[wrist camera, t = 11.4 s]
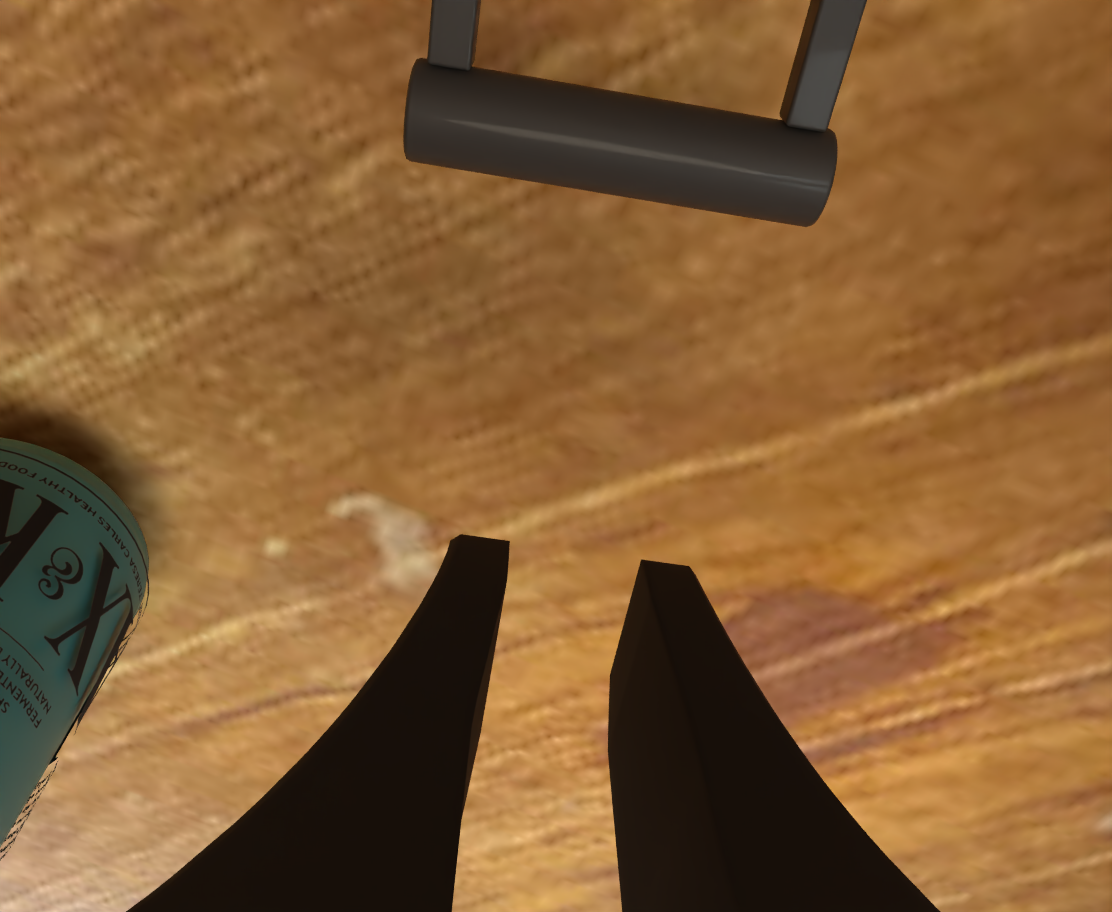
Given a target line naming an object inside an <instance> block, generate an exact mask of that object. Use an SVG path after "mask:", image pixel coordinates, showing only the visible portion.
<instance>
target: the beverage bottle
mask: <svg viewBox="0 0 1112 912" xmlns="http://www.w3.org/2000/svg"><path fill="white" fill-rule="evenodd" d="M148 570H149V557H148V551H147V545H146V542H145V539H144V536H143V533H142V531H141V529H140V527H139V525H138V523H137V521H136V519H135V518H134V516H133V514H132V513H131V511H130V510H129V508H128V507H127V506H126V505H125V503H124V502H123V501H122V500H121V498H120V497H119V496H118V495H117V494H116V493H115V492H114V491H113V490H112V489H111V488H110V487H109V486H108V485H107V484H105V483H104V482H103V481H102V480H101V479H99V478H98V477H97V476H96V475H94V474H93V473H92V472H90V471H89V470H87V469H86V468H84V467H83V466H81V465H79V464H78V463H76V462H74V461H72V460H71V459H69V458H67V457H65V456H63V455H60V454H58V453H56V452H54V451H51V450H49V449H46V448H43V447H40V446H37V445H34V444H30V443H26V442H22V441H18V440H13V439H6V438H0V847H1V845H2V844H3V842H4V841H6V840H5V839H6V837H7V835H8V833H9V832H10V830H11V828H13V827H14V825H15V824H16V823H15V821H16V820H17V818H18V816H19V815H20V813H21V812H22V809H23V808H24V806H25V804H26V802H27V801H29V800H28V799H30V798H32V797H33V796H34V794H35V793H34V794H33V795H32V797H31V794H32V792H33V790H34V789H36V788H37V787H38V786H40V785H37V783H38V782H39V780H40V778H41V777H42V775H43V773H44V771H45V770H46V768H47V766H48V765H49V764H51V763H52V762H54V761H55V760H56V759H57V758H58V757H57V758H56V755H57V753H58V752H59V750H60V748H61V746H62V745H63V743H64V741H65V740H66V738H67V736H68V734H69V733H70V731H71V729H72V727H73V726H74V724H75V722H76V721H77V719H78V724H77V727H78V725H79V723H80V721H81V719H82V718H83V716H84V714H85V712H86V711H87V709H88V708H89V706H90V704H91V703H92V701H93V699H94V698H95V696H96V695H95V693H96V691H97V689H98V687H99V685H100V683H101V681H102V679H103V677H104V675H105V673H106V671H107V669H108V668H109V667H110V666H111V665H112V664H113V663H114V664H113V666H112V668H113V667H114V665H115V663H116V661H117V660H118V658H119V656H120V655H121V653H122V652H121V653H120V655H119V656H118V658H117V654H118V651H120V650H119V649H118V648H119V646H120V644H121V642H122V641H123V640H125V639H126V638H127V637H128V636H129V635H130V634H131V633H132V632H133V631H132V632H131V633H130V634H129V635H128V636H127V637H126V638H125V639H123V638H124V636H125V634H126V632H127V630H128V627H129V625H130V624H131V623H132V624H133V618H134V616H135V615H136V613H137V611H138V610H139V609H141V607H140V605H141V602H142V600H143V597H144V593H145V587H146V582H148V595H149V579H148ZM147 601H148V597H147ZM142 604H143V603H142ZM141 606H142V605H141ZM146 606H147V602H146ZM145 608H146V607H145ZM141 611H142V610H141ZM144 611H145V610H144ZM139 613H140V610H139ZM143 614H144V613H143ZM140 616H141V614H140ZM142 616H143V615H142ZM138 617H139V614H138ZM138 621H139V620H138ZM131 626H132V625H131ZM136 627H137V624H136ZM134 630H135V629H134ZM132 634H133V633H132ZM129 637H130V636H129ZM128 639H130V638H128ZM127 642H128V641H127ZM127 642H126V644H127ZM126 644H124V645H123V646H122V647H124V646H126ZM122 647H121V648H120V649H122ZM124 648H125V647H124ZM124 648H123V650H124ZM123 650H122V651H123ZM115 655H116V657H115V661H114V662H113V663H112V664H111V662H112V660H113V658H114V656H115ZM116 658H117V659H116ZM110 664H111V665H110ZM112 668H111V670H112ZM111 670H110V671H111ZM110 671H109V673H108V675H109V674H110ZM108 675H107V676H108ZM107 676H106V678H107ZM106 678H105V679H106ZM104 681H105V680H104ZM104 681H103V683H104ZM103 683H102V684H103ZM101 686H102V685H101ZM101 686H100V688H101ZM100 688H99V689H100ZM98 691H99V690H98ZM98 691H97V693H98ZM97 693H96V694H97ZM94 695H95V696H94ZM93 697H94V698H93ZM92 698H93V699H92ZM79 715H80V716H79ZM78 717H79V718H78ZM76 730H77V728H76ZM75 732H76V731H75ZM74 735H75V734H74ZM57 762H58V761H57ZM56 765H57V763H56ZM55 768H56V766H55ZM55 768H54V769H55ZM54 771H55V770H54ZM54 771H53V772H54ZM51 772H52V771H51ZM53 772H52V773H53ZM48 776H49V775H48ZM48 776H47V777H48ZM51 776H52V775H51ZM49 777H50V776H49ZM49 777H48V779H50V778H49ZM45 780H46V778H45V779H44V780H42V781H43V782H44V781H45ZM47 781H48V780H47ZM43 782H39V783H40V784H41V783H43ZM39 783H38V784H39ZM47 783H48V782H46V785H47ZM46 785H43V787H44V786H46ZM36 786H37V787H36ZM35 787H36V788H35ZM38 788H39V787H38ZM39 789H40V788H39ZM41 789H42V788H41ZM34 791H35V790H34ZM38 792H39V790H38ZM40 794H41V793H40ZM36 795H37V793H36ZM36 795H35V796H36ZM39 797H40V795H39ZM39 797H38V798H39ZM38 798H35V800H34V801H33V802H34V803H35V801H36V799H38ZM27 803H28V802H27ZM31 804H33V803H31ZM35 804H36V803H35ZM29 806H30V805H29ZM29 806H28V807H26V808H25V809H26V810H27V809H28V808H29ZM33 807H34V806H33ZM25 809H24V811H25ZM24 811H23V812H24ZM30 811H32V810H30ZM30 811H29V812H28V814H26V815H28V816H29V814H30ZM25 817H26V816H25ZM27 818H28V817H27ZM20 820H21V819H20ZM20 820H19V821H18V822H21V821H22V820H23V818H22V820H21V821H20ZM26 820H27V819H26ZM26 820H25V821H26ZM25 821H24V822H25ZM18 822H17V823H18ZM24 822H23V823H24ZM14 823H15V824H14ZM16 825H17V824H16ZM23 825H24V824H22V825H21V827H20V828H19V829H21V828H22V827H23ZM17 830H18V829H17ZM19 832H20V831H19ZM13 833H14V834H15V833H16V831H15V832H13ZM17 833H18V831H17ZM17 833H16V834H17ZM17 835H18V834H17ZM9 836H11V838H12V836H13V835H11V834H10V835H9ZM7 838H8V839H9V838H10V837H7ZM15 838H16V837H15ZM13 840H14V841H15V839H13ZM13 840H12V842H10V843H13V842H14V841H13ZM10 843H9V845H10ZM5 847H6V848H7V847H8V845H7V846H5ZM10 848H11V847H10ZM1 850H3V851H4V850H5V848H4V849H1ZM1 850H0V851H1ZM1 852H2V851H1ZM1 852H0V853H1ZM3 853H4V852H3ZM5 854H6V853H5ZM5 854H4V855H3V857H4V856H5ZM1 859H2V857H1ZM1 859H0V860H1Z"/></svg>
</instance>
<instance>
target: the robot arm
mask: <svg viewBox="0 0 1112 912" xmlns="http://www.w3.org/2000/svg"><path fill="white" fill-rule="evenodd" d="M509 543H510V541H505V540H498V539H491V538H484V537H476V536H469V535H462V534H461V535H459V536H457V537H455V538H454V539H452V540H451V541H450V544H449V547H448V551H447V553H446V556H445V558H444V560H443V563H442V565H441V567H440V569H439V571H438V573H437V575H436V577H435V579H434V581H433V583H432V585H431V587H430V588H429V590H428V592H427V594H426V595H425V597H424V599H423V601H422V603H421V604H420V606H419V608H418V609H417V611H416V612H415V614H414V615H413V617H412V618H411V620H410V621H409V623H408V624H407V626H406V628H405V629H404V631H403V632H402V634H401V635H400V637H399V638H398V640H397V641H396V643H395V644H394V646H393V647H392V649H391V650H390V652H389V653H388V654H387V656H386V657H385V658H384V660H383V661H382V662H381V664H380V665H379V666H378V668H377V669H376V670H375V672H374V673H373V674H372V675H371V677H370V678H369V679H368V681H367V682H366V683H365V685H364V686H363V687H362V689H361V690H360V691H359V693H358V694H357V695H356V696H355V698H354V699H353V700H352V701H351V703H350V704H349V705H348V706H347V707H346V709H345V710H344V711H343V712H342V713H341V715H340V716H339V717H338V718H337V719H336V720H335V722H334V723H333V724H332V725H331V726H330V727H329V729H328V730H327V731H326V732H325V733H324V734H323V735H322V736H321V737H320V739H319V740H318V741H317V742H316V743H315V744H314V745H313V746H312V747H311V748H310V749H309V751H308V752H307V753H306V754H305V755H304V756H303V757H302V758H301V759H300V760H299V761H298V762H297V763H296V764H295V765H294V766H293V767H292V768H291V769H290V770H289V771H288V772H287V773H286V774H285V775H284V776H283V777H282V778H281V779H280V780H279V781H278V782H277V783H276V784H275V785H274V786H273V787H272V788H271V789H270V790H269V791H268V792H267V793H266V794H265V795H264V796H263V797H262V798H261V799H260V800H259V801H258V802H257V803H256V804H255V805H254V806H253V807H252V808H251V809H249V810H248V811H247V812H246V813H245V814H244V815H243V816H242V817H241V818H240V819H239V820H238V821H236V822H235V823H234V824H233V825H232V826H231V827H230V828H228V829H227V830H226V831H225V832H224V833H222V834H221V835H220V836H219V837H218V838H217V839H215V840H214V841H213V842H212V843H211V844H210V845H208V846H207V847H206V848H205V849H204V850H203V851H201V852H200V853H199V854H198V855H197V856H195V857H194V858H193V859H192V860H191V861H190V862H188V863H187V864H186V865H185V866H184V867H183V868H181V869H180V870H179V871H178V872H177V873H176V874H174V875H173V876H172V877H171V878H170V879H168V880H167V881H166V882H165V883H163V884H162V885H161V886H159V887H158V888H157V889H156V890H154V891H153V892H152V893H151V894H149V895H148V896H147V897H145V898H144V899H143V900H141V901H140V902H139V903H137V904H136V905H134V906H133V907H132V908H130V909H129V910H128V911H126V912H452V903H453V893H454V883H455V874H456V864H457V855H458V845H459V836H460V827H461V819H462V815H463V810H464V806H465V801H466V797H467V792H468V787H469V783H470V778H471V774H472V769H473V765H474V760H475V756H476V751H477V747H478V742H479V737H480V733H481V727H482V721H483V715H484V710H485V704H486V698H487V692H488V687H489V681H490V675H491V669H492V663H493V658H494V652H495V646H496V640H497V635H498V629H499V623H500V617H501V611H502V606H503V600H504V594H505V588H506V583H507V574H508V561H509ZM608 757H609V769H610V781H611V792H612V804H613V815H614V826H615V837H616V847H617V858H618V869H619V880H620V891H621V902H622V912H940V911H939V910H938V909H937V908H936V907H935V906H934V905H933V904H932V903H931V902H930V901H929V900H928V899H927V898H926V897H925V895H924V894H923V893H922V892H921V891H920V890H919V889H918V888H917V887H916V886H915V885H914V884H913V883H912V882H911V881H910V880H909V879H908V878H907V877H906V876H905V875H904V874H903V873H902V872H901V871H900V869H899V868H898V867H897V866H896V865H895V864H894V863H893V862H892V861H891V860H890V859H889V858H888V857H887V856H886V855H885V854H884V853H883V851H882V850H881V849H880V848H879V847H878V846H877V845H876V844H875V842H874V841H873V840H872V839H871V838H870V837H869V836H868V835H867V834H866V832H865V831H864V830H863V829H862V828H861V826H860V825H859V824H858V823H857V822H856V820H855V819H854V818H853V817H852V816H851V814H850V813H849V812H848V811H847V810H846V808H845V807H844V806H843V805H842V804H841V802H840V801H839V800H838V799H837V797H836V796H835V795H834V794H833V792H832V791H831V790H830V789H829V787H828V786H827V785H826V783H825V782H824V781H823V779H822V778H821V777H820V775H819V774H818V773H817V771H816V770H815V769H814V767H813V766H812V765H811V763H810V762H809V761H808V759H807V758H806V756H805V755H804V754H803V752H802V751H801V749H800V748H799V747H798V745H797V744H796V742H795V741H794V739H793V738H792V737H791V735H790V734H789V732H788V731H787V730H786V728H785V727H784V725H783V724H782V722H781V721H780V719H779V718H778V716H777V715H776V713H775V712H774V710H773V709H772V707H771V706H770V704H769V702H768V701H767V699H766V698H765V696H764V694H763V693H762V691H761V690H760V688H759V686H758V685H757V683H756V682H755V680H754V678H753V677H752V675H751V674H750V672H749V670H748V669H747V667H746V666H745V664H744V662H743V660H742V659H741V657H740V655H739V654H738V652H737V650H736V649H735V647H734V645H733V643H732V642H731V640H730V638H729V636H728V635H727V633H726V631H725V629H724V627H723V626H722V624H721V622H720V620H719V618H718V617H717V615H716V613H715V611H714V609H713V607H712V606H711V604H710V602H709V600H708V598H707V596H706V594H705V592H704V590H703V588H702V587H701V585H700V583H699V581H698V579H697V577H696V575H695V574H694V572H693V571H692V569H691V568H690V567H689V566H684V565H676V564H669V563H662V562H655V561H648V560H641V562H640V566H639V570H638V573H637V577H636V581H635V585H634V588H633V592H632V596H631V599H630V603H629V607H628V611H627V614H626V618H625V622H624V625H623V629H622V633H621V637H620V640H619V644H618V648H617V651H616V655H615V659H614V663H613V666H612V670H611V674H610V691H609V722H608Z"/></svg>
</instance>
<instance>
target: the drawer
mask: <svg viewBox="0 0 1112 912" xmlns="http://www.w3.org/2000/svg"><path fill="white" fill-rule="evenodd" d="M866 2H867V0H811V2H810V6H809V9H808V13H807V17H806V20H805V24H804V27H803V31H802V34H801V38H800V42H799V45H798V49H797V52H796V56H795V60H794V63H793V67H792V70H791V74H790V77H789V81H788V85H787V88H786V92H785V95H784V99H783V102H782V106H781V110H780V117H781V118H782V120H777V119H772V118H766V117H760V116H754V115H748V114H743V113H737V112H731V111H725V110H720V109H714V108H708V107H702V106H697V105H691V104H685V103H679V102H674V101H668V100H662V99H656V98H650V97H645V96H639V95H633V94H627V93H622V92H616V91H610V90H604V89H599V88H593V87H587V86H581V85H576V84H570V83H564V82H558V81H553V80H547V79H541V78H535V77H529V76H524V75H518V74H512V73H506V72H501V71H495V70H489V69H483V68H478V67H472V64H473V62H474V60H475V52H476V42H477V33H478V24H479V14H480V5H481V0H432V8H431V20H430V32H429V44H428V57H427V59H426V58H419V59H417V60H416V61H415V63H414V65H413V68H412V71H411V75H410V80H409V85H408V91H407V98H406V106H405V117H404V135H403V142H404V152H405V156H406V159H408V160H409V161H411V162H417V163H423V164H429V165H435V166H441V167H447V168H453V169H459V170H465V171H471V172H477V173H483V174H489V175H495V176H501V177H507V178H514V179H520V180H526V181H532V182H538V183H544V184H550V185H556V186H562V187H568V188H574V189H580V190H586V191H592V192H598V193H604V194H610V195H616V196H622V197H628V198H634V199H640V200H646V201H652V202H658V203H664V204H670V205H676V206H682V207H688V208H694V209H700V210H706V211H712V212H718V213H724V214H730V215H736V216H742V217H748V218H754V219H760V220H767V221H773V222H779V223H785V224H791V225H797V226H803V227H808V226H811V225H813V224H814V223H815V222H816V221H817V220H818V218H819V216H820V215H821V213H822V211H823V209H824V207H825V205H826V202H827V200H828V197H829V194H830V191H831V188H832V184H833V180H834V176H835V171H836V164H837V139H836V135H835V133H834V132H833V131H832V130H830V129H829V128H828V125H829V122H830V119H831V115H832V112H833V109H834V106H835V102H836V99H837V96H838V93H839V89H840V86H841V83H842V80H843V76H844V73H845V70H846V67H847V63H848V60H849V57H850V54H851V51H852V47H853V44H854V41H855V38H856V34H857V31H858V28H859V25H860V21H861V18H862V15H863V12H864V8H865V5H866Z"/></svg>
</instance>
